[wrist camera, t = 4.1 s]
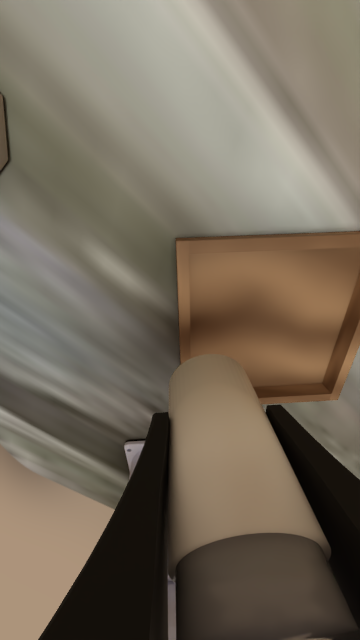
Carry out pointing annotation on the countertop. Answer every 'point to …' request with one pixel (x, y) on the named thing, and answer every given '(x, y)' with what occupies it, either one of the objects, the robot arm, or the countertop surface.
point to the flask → (2, 136)
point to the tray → (274, 309)
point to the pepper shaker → (241, 519)
